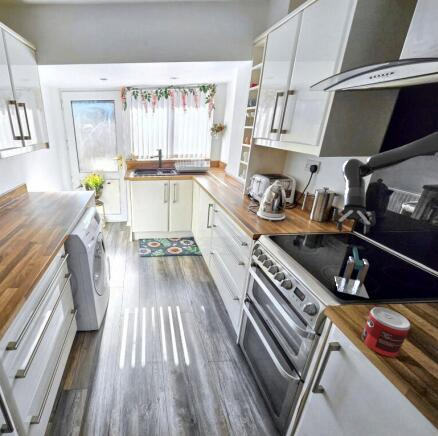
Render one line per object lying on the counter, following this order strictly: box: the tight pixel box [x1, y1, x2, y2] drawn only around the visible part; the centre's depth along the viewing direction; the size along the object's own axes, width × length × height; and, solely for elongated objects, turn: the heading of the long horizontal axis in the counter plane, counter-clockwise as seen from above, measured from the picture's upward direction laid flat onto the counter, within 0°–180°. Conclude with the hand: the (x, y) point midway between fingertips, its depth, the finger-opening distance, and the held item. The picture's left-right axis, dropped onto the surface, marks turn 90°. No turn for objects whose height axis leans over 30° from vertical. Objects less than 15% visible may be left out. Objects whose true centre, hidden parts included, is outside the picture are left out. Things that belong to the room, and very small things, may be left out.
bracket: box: [334, 256, 370, 299], centre depth 91 cm, size 11×9×13 cm
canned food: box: [361, 306, 411, 359], centre depth 67 cm, size 8×8×11 cm
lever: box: [345, 244, 364, 271], centre depth 93 cm, size 12×5×2 cm, turn 150°
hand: (352, 232), depth 103 cm, fingers open, 8 cm apart
